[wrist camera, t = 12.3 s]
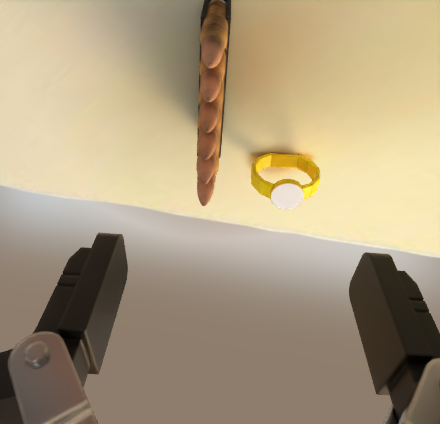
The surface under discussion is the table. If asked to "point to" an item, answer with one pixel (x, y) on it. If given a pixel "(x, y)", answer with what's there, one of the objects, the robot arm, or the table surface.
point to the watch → (287, 188)
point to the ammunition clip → (211, 92)
